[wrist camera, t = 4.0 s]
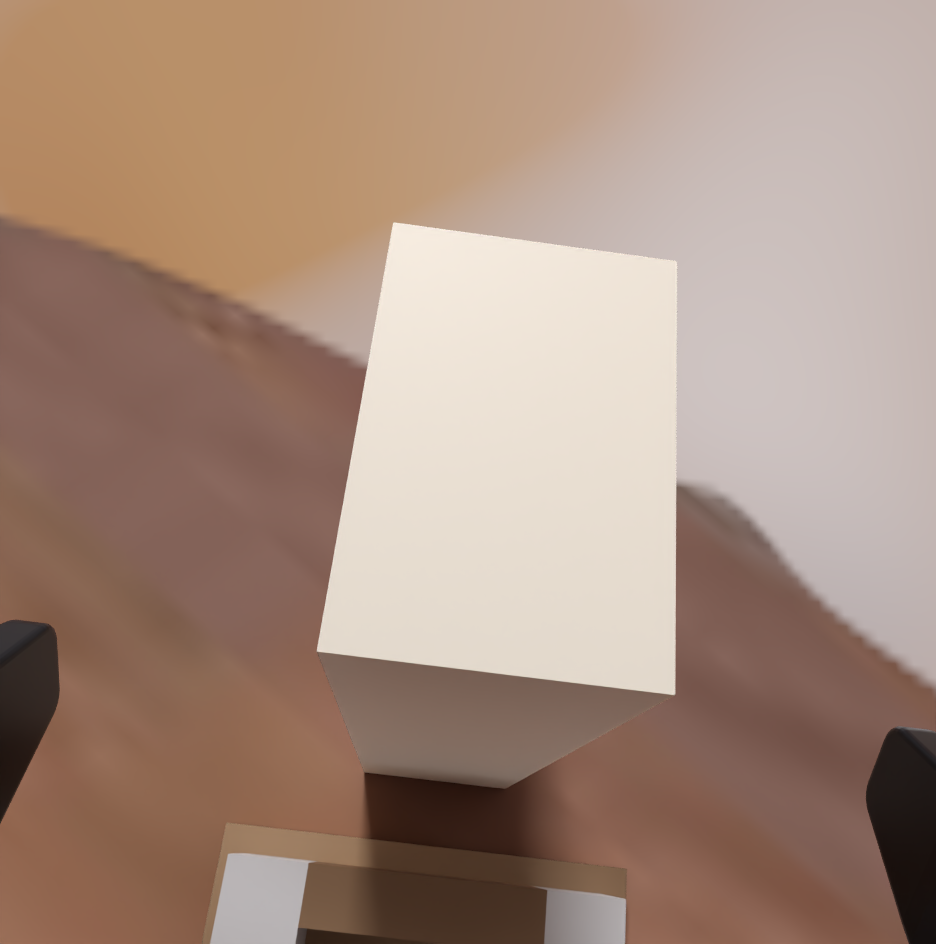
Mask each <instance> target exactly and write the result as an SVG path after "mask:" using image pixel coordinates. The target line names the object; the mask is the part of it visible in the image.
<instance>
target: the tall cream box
mask: <svg viewBox="0 0 936 944" xmlns="http://www.w3.org/2000/svg"><path fill="white" fill-rule="evenodd" d="M676 371H677V261H672V260H664V259H657V258H650V257H642V256H635V255H628V254H620V253H612V252H605V251H598V250H591V249H584V248H577V247H569V246H562V245H555V244H546V243H539V242H533V241H525V240H518V239H511V238H503V237H496V236H489V235H481V234H474V233H466V232H459V231H452V230H444V229H437V228H430V227H423V226H416V225H408V224H401V223H393V228H392V233H391V239H390V244H389V250H388V255H387V261H386V267H385V273H384V278H383V283H382V289H381V295H380V300H379V306H378V312H377V317H376V323H375V328H374V334H373V339H372V345H371V351H370V356H369V362H368V367H367V373H366V379H365V384H364V390H363V395H362V401H361V407H360V412H359V418H358V423H357V429H356V435H355V440H354V446H353V451H352V457H351V463H350V468H349V474H348V479H347V485H346V491H345V496H344V502H343V507H342V513H341V519H340V524H339V530H338V535H337V541H336V547H335V552H334V558H333V563H332V569H331V575H330V580H329V586H328V591H327V597H326V603H325V608H324V614H323V619H322V625H321V631H320V636H319V642H318V647H317V653H318V656H319V659H320V661H321V664H322V666H323V669H324V671H325V674H326V676H327V679H328V681H329V684H330V687H331V689H332V692H333V694H334V697H335V699H336V702H337V704H338V707H339V709H340V712H341V715H342V717H343V720H344V722H345V725H346V727H347V730H348V732H349V735H350V738H351V740H352V743H353V745H354V748H355V750H356V753H357V755H358V758H359V760H360V763H361V766H362V768H363V771H364V772H366V773H374V774H383V775H391V776H400V777H408V778H417V779H425V780H434V781H442V782H451V783H459V784H468V785H476V786H485V787H493V788H502V789H506V788H508V787H510V786H511V785H513V784H515V783H517V782H519V781H520V780H522V779H524V778H526V777H528V776H529V775H531V774H533V773H535V772H537V771H539V770H540V769H542V768H544V767H546V766H548V765H549V764H551V763H553V762H555V761H557V760H558V759H560V758H562V757H564V756H566V755H567V754H569V753H571V752H573V751H575V750H577V749H578V748H580V747H582V746H584V745H586V744H587V743H589V742H591V741H593V740H595V739H596V738H598V737H600V736H602V735H604V734H606V733H607V732H609V731H611V730H613V729H615V728H616V727H618V726H620V725H622V724H624V723H625V722H627V721H629V720H631V719H633V718H635V717H636V716H638V715H640V714H642V713H644V712H645V711H647V710H649V709H651V708H653V707H654V706H656V705H658V704H660V703H662V702H664V701H665V700H667V699H669V698H671V697H673V696H674V695H675V605H676V392H677V390H676V388H677V386H676V384H677V382H676V381H677V372H676Z"/></svg>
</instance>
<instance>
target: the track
mask: <svg viewBox="0 0 936 944" xmlns="http://www.w3.org/2000/svg"><path fill="white" fill-rule="evenodd" d="M626 876H627V869H624V868H615V867H607V866H598V865H589V864H581V863H572V862H564V861H555V860H546V859H538V858H529V857H520V856H512V855H503V854H494V853H486V852H477V851H468V850H460V849H451V848H442V847H434V846H425V845H416V844H408V843H399V842H390V841H382V840H373V839H364V838H356V837H347V836H338V835H330V834H321V833H312V832H304V831H295V830H286V829H278V828H269V827H261V826H252V825H243V824H235V823H226V827H225V832H224V837H223V841H222V846H221V851H220V856H219V861H218V866H217V871H216V876H215V880H214V885H213V890H212V895H211V900H210V905H209V910H208V915H207V919H206V924H205V929H204V934H203V939H202V944H625V923H626Z"/></svg>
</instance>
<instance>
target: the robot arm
mask: <svg viewBox="0 0 936 944" xmlns="http://www.w3.org/2000/svg"><path fill="white" fill-rule="evenodd" d="M59 691H60V687H59V669H58V651H57V637H56V633H55V630H54V628H52V627H51V626H50V625H49V624H46V623H38V622H30V621H22V620H10V621H7V622H5V623H2V624H0V823H1V821H2V819H3V817H4V815H5V813H6V811H7V809H8V807H9V805H10V803H11V801H12V798H13V796H14V794H15V792H16V790H17V788H18V786H19V784H20V782H21V780H22V778H23V776H24V774H25V772H26V770H27V768H28V766H29V764H30V762H31V760H32V758H33V756H34V754H35V752H36V749H37V747H38V745H39V743H40V741H41V739H42V737H43V735H44V733H45V731H46V729H47V727H48V725H49V723H50V721H51V719H52V717H53V715H54V712H55V710H56V707H57V704H58V699H59ZM866 803H867V809H868V813H869V816H870V820H871V823H872V826H873V829H874V833H875V836H876V839H877V843H878V846H879V849H880V853H881V856H882V859H883V862H884V866H885V869H886V872H887V876H888V879H889V882H890V885H891V889H892V892H893V895H894V899H895V902H896V905H897V909H898V912H899V915H900V918H901V922H902V925H903V928H904V931H905V934H906V936H907V939H908V942H909V944H936V732H934V731H931V730H926V729H918V728H909V727H900V726H899V727H895V728H893V729H891V730H890V731H889V732H888V734H887V735H886V737H885V739H884V742H883V745H882V747H881V750H880V753H879V755H878V758H877V761H876V763H875V766H874V768H873V771H872V774H871V776H870V779H869V782H868V785H867V790H866Z"/></svg>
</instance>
